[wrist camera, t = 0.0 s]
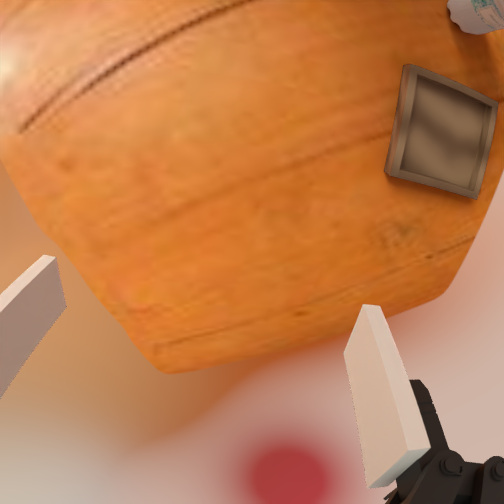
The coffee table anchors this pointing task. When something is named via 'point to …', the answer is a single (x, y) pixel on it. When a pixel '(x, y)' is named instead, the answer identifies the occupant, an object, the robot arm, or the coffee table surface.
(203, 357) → the coffee table surface
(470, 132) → the tray
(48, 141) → the coffee table surface
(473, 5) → the bottle
